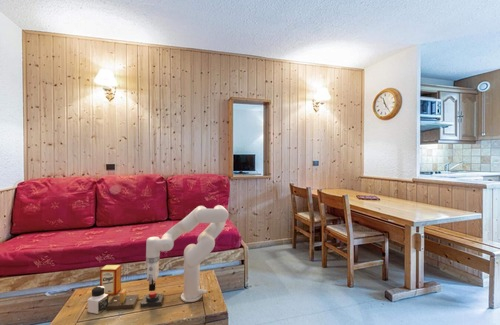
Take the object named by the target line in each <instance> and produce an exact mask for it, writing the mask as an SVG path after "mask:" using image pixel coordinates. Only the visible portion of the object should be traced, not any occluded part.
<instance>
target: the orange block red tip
mask: <svg viewBox="0 0 500 325" xmlns="http://www.w3.org/2000/svg"><path fill="white" fill-rule="evenodd" d="M119 293H120V294H119V296H120V303H123V302H124V301H125V299H126V295H127V288H123V289H121V292H119Z"/></svg>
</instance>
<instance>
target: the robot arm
mask: <svg viewBox="0 0 500 325" xmlns="http://www.w3.org/2000/svg"><path fill="white" fill-rule="evenodd" d="M229 216H230V214H229V211H228V210H227V208H225V206H223V205H220V204H217V205H215V206H214V207H213V208H207V206H206V207H205V205H198V206H196V208H194V209H193V210H192V211H191V212H190V213H189V214H187V215H186V216H185V217H184V218H182V219H181V220H180V221H178V222H177V223H176V224H174V225H173V226H171V227H170V228H169V229H167V231H166V232H165V233H164V234H162V236H161V238H160V237H159V236H150V237H148V238H147V239H146V243H145V244H146V246H145V263H146V266H147V267H146V281H147V282H148V291H149V292H156V281H157V280H158V278H159V275H160V265H159V262H160V261H161V252H169V251H171V250H172V249H173V248H174V245H175V241H176V240H177V239H178V238H179V237H181V236H182V235H183V234H186V233H190V232H192V231H193V230H194V229H195V228H196V227H197V226H198V225H200V224H208V225H207V227H205V229H203V231H201V233H200V234H199V235H198V236H197V243H196V244H195V243H190V244H188V245H186V246H185V248H184V250H183V291H182V293H181V294H180V300H181V301H183V302H184V303H194V302H197V301H199V300H201V299H202V297H203V295H206V294H208V290H207V289H206V288H201V285H200V282H201V263H202V262H203V261H204V260H205V259H206V258H207V257H208V256H209V255H210V253H212V252H213V250H214V248H215V245H216V238H217V237H218V236H219V235H220V234H221V233H222V231H223V230H224V228H225V226H226V224H227V223H226V222H227V220H228V219H229Z"/></svg>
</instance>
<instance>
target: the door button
mask: <svg viewBox="0 0 500 325" xmlns="http://www.w3.org/2000/svg"><path fill="white" fill-rule="evenodd" d="M156 293H157V292H156V291H149V293H148V294H149V297H151V298H152V297H155V296H156Z"/></svg>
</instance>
